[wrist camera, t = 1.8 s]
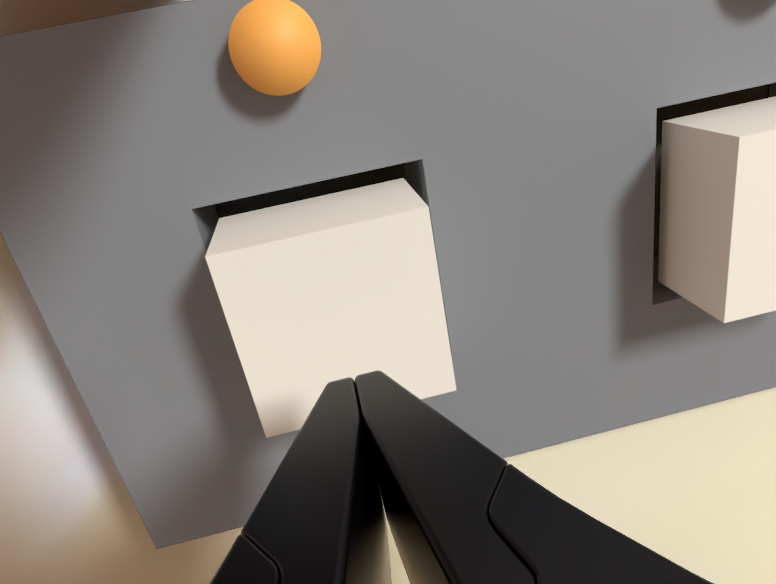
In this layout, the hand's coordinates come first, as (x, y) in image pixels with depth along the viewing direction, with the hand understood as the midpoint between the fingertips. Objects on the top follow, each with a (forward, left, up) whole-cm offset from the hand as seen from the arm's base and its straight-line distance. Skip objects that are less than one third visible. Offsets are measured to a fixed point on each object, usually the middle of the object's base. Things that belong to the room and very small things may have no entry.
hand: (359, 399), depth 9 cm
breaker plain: (0, -10, -5) cm, 11 cm away
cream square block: (0, 0, -5) cm, 5 cm away
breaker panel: (0, -5, -7) cm, 8 cm away
